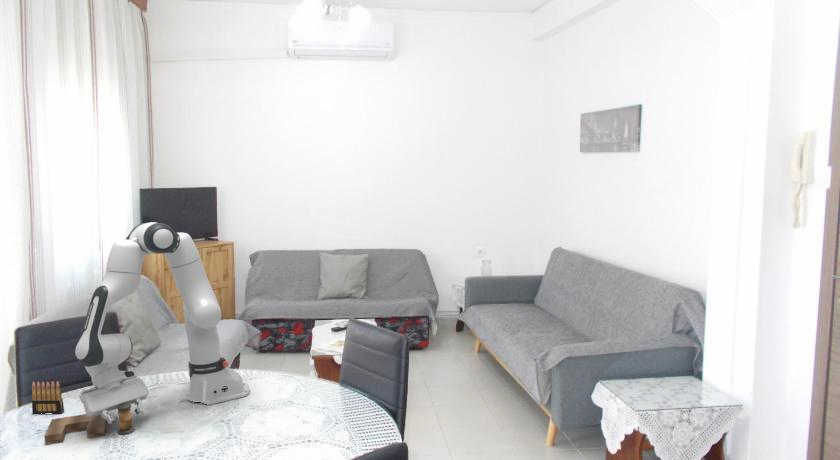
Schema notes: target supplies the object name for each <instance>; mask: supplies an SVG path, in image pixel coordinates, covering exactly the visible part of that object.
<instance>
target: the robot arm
mask: <svg viewBox="0 0 840 460" xmlns="http://www.w3.org/2000/svg"><path fill="white" fill-rule="evenodd" d="M155 254H158V255H159V254H160V255H161V254H163V255H164V256H165V257H166V259H167V263H168V265H169V268H170V271H171V274H172V277H173V279H174V280H173V281H174V282H175V285H176V288H177V289H178V292H179V295H180V298H181V299H182V301H183V302H182V303H183V304H182V312H183V318H184V319H183V320H184V326H185V331H186V337H187V344H188V346H187V347H188V356H189V357H188V359H189V361H188V376H189V387H188V388H189V389H188V394H187V398H188V399H189V400H190V401H194V402H201V403H200V404H202V403H204V404H203V405H205V404H207V406H210V405H215V404H218V403H222V402H223V403H224V402H226V401H232V400H235V399H236V400H237V399H239V398H244V397H247V396H248V395H249V394H250V388H249V385H248V384H247V383H245V382H243V378H242V376H241V375H240V374H239V373H238V372H237V371H235V370H233V369H232V368H230V367H228V366H229V362H228V361H227V359H225V357H221V348H220V346H221V345H220V336H219V334H218V329H217V325H218V324H219V323H220V322H221V319H222V316H223V315H222V314H223V313H222V308H221V306H220V304H219V301H218V299H217V297H216V296H217V295H216V294H215V292H214V290H213V287H212V285H211V283H210V281H209V279H208V276H207V275H208V274H207V273H206V270H205V267H204V264H203V261H202V258H201V255H200V253H199V250H198V248H197V246H196V244H195V241H194V240H193V238H192V236H191V235H190V234H189V233H187V232H176V231H175V230H174V229H173V228H172V227H171V226H170V225H167V224H166V223H164V222H155V221H153V222H152V221H150V222H143V223H139V224H137V225H135V226H134V227H133V228H132V229H131V231H130V233H129V234H128V236H127V237H126V238H124V239H119V240H117V241H115V242H114V243H113V244H112V245H111V248H110V252H109V254H108V257H107V261H106V267H105V268H106V269H105V274H104V277H103V279H102V282H101V284H100V285H99V286H98V287H97V288H96V289H95V290H94V291H93V293H92V296H91V299H90V302H89V306H88V309H87V312H86V316H85V319H84V323H83V326H82V331H81V333H80V336H79V337H78V340H77V342H76V344H75V348H74V355H75V356H74V357H75V358H76V360H77V362H79V364H81V365H82V366H84V367H85V370H86V372H87V373H88V374H89V375H90V377H91V383H92V384H93V387H92V388H89V389H84V390H82V391H81V393H79V399H80V401H81V402H82V403H83V409H84V411H85V414H87V416H89V417H93V416H96V415H99V414H100V415H101V417H102V418H104V419H106V420H107V421H108V422H107V424H108V425H111V424H113V423H114V422H115V417H114V415H109V414H106V413H107V412H111V411H114V410H117V406H118V405H120V404H123V403H130V404H131V405H132V404H134V405H135V406H136V407H135V409H134V413H135V415H139V414H141V413H142V412H143V410H142V408H141V404H142V401H144V400H146V399H147V398H148V396H149V395H150V394H149V393H150V390H149V389H148V387H147V385H146V383H145V382H144V380H143V379H142V378H140V377H138V375H139V374H138V371H136V370H120V369H119V365H120V364H123V362H125V361H126V360H128V359H129V357H130V356H131V355H132V353H133V351H134V350H133V349H134V346H133V341H132V339H131V338H130V336H129V335H128V334H126V333H108V334H101V333H102V330H103V326H104V322H105V319H106V316H107V312H108V311H109V309H110V308H111V307H112V306H113V305H115V304H116V303H118V302H119V301H122V300H125V299H127V298H129V297H130V296H132V295H133V294H135V293H136V292H137V290H138V289H139V286H140V284H141V278H142V269H143V268H142V267H143V263H144V260H145V258H146V257H147V256H148V255H155ZM188 399H187V400H188ZM189 400H188V401H189ZM190 401H189V402H190ZM194 402H193V403H194Z"/></svg>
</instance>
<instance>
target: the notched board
mask: <svg viewBox="0 0 840 460" xmlns="http://www.w3.org/2000/svg"><path fill="white" fill-rule="evenodd" d="M108 412H109V411H108ZM108 412H107V413H106V414H108ZM108 415H109V414H108ZM107 425H108V421H107V420H106V419H104V418H102V417H101V415H100V414H99V415H96V416H93V417H89V416H87V414H86V413H83V414H79V415H78V414H77V415H71V416H65V417H64V416H63V417H58V418H51V420H50V423H49V425H48V427H47V429H46V431H45V434H44V445H45V446H48V445H54V444H59V443H64V441H65V438H66V434H69V433H76V432H82V431H86V438H87V439H89V438H95V437H101V436H105V434H106V429H107V427H108V426H107Z"/></svg>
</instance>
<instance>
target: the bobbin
mask: <svg viewBox="0 0 840 460" xmlns="http://www.w3.org/2000/svg"><path fill="white" fill-rule="evenodd" d="M131 408H132V404H130V403H123V404H120V405H118V406H117V409H116V410H117V416H118V426H119V428H118V429H117V430H116V431H117V435H120V436H124V435H125V436H126V435H130V434H132V433H134V431H135V430H136V429H135V426H133V421H132V420H133V419H132V412H131Z"/></svg>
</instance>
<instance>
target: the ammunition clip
mask: <svg viewBox="0 0 840 460" xmlns="http://www.w3.org/2000/svg"><path fill="white" fill-rule="evenodd" d="M31 389H32V390H31V399H32V401H31V411H32V415H33V414H39V415H46V414H45V413H52V414H51V415H62V414H64V413H65V406H64V399H63V398H62V392H61V385H60V382H59V381H58V380H57V381H56V383H55V382H54V381H53V380H52V381H51V384H50V382H49V381H47V382H46V384H45V382H44V381H42V382H41V383H40V381H37V382H35V381H34V380H33V381H32V384H31ZM41 413H42V414H41Z"/></svg>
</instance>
